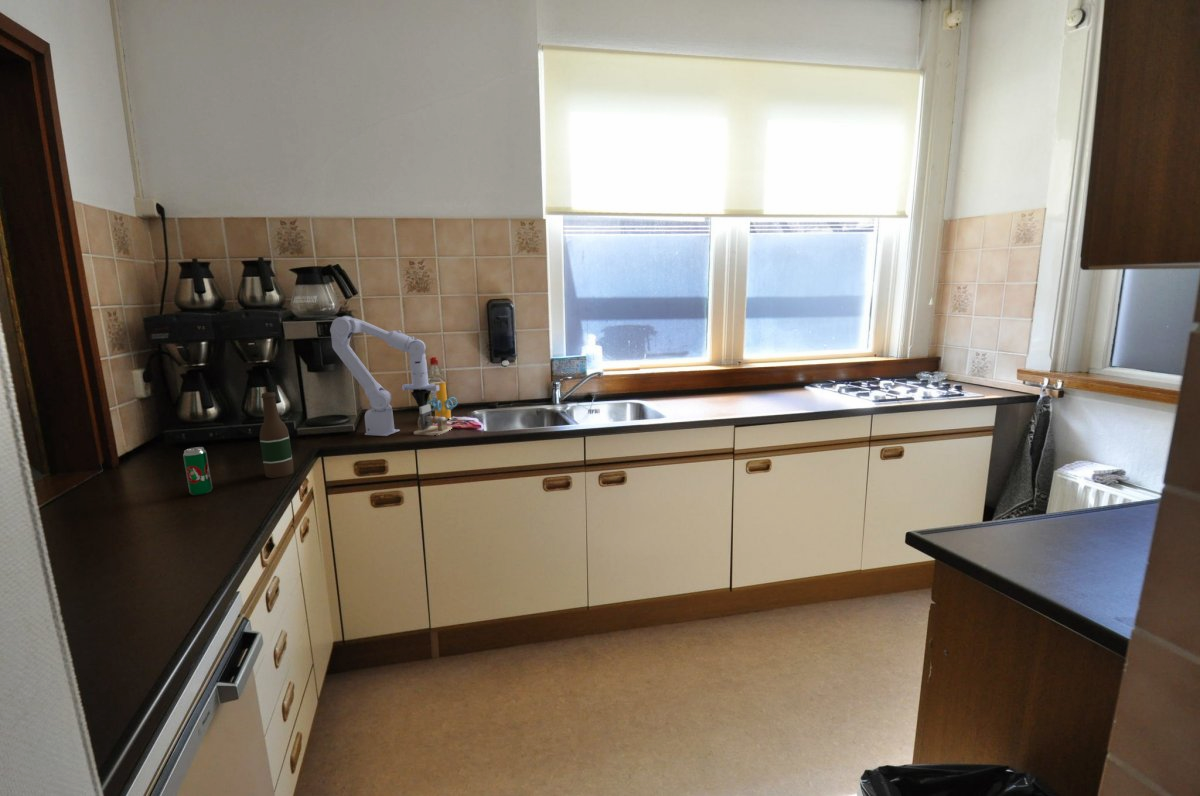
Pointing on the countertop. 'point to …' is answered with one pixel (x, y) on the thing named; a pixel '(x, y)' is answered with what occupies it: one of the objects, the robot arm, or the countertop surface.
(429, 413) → the grey bent plate
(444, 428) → the pipe rig
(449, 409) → the yellow blue ringed piece
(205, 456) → the soda can
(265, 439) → the beer bottle
